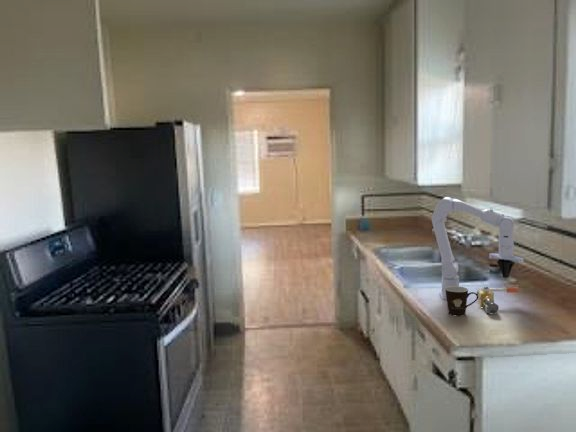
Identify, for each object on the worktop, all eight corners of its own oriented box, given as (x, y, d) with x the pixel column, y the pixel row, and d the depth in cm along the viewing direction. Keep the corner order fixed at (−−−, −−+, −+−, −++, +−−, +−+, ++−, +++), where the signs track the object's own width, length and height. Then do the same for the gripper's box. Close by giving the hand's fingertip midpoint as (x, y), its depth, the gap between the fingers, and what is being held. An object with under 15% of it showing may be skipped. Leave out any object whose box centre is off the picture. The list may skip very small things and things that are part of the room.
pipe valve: (475, 300, 221) (475, 286, 220) (487, 300, 220) (487, 286, 220) (486, 315, 201) (486, 300, 200) (500, 315, 200) (500, 300, 200)
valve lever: (483, 292, 211) (483, 288, 211) (481, 291, 213) (481, 286, 213) (518, 292, 209) (518, 287, 209) (516, 290, 211) (516, 286, 211)
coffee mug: (442, 314, 205) (441, 290, 203) (450, 308, 211) (450, 285, 210) (471, 319, 198) (471, 294, 196) (478, 313, 204) (478, 288, 203)
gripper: (484, 244, 218) (484, 276, 220) (516, 249, 206) (516, 282, 208) (494, 242, 222) (494, 273, 224) (526, 246, 210) (526, 279, 212)
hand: (505, 277), depth 216 cm, fingers closed
